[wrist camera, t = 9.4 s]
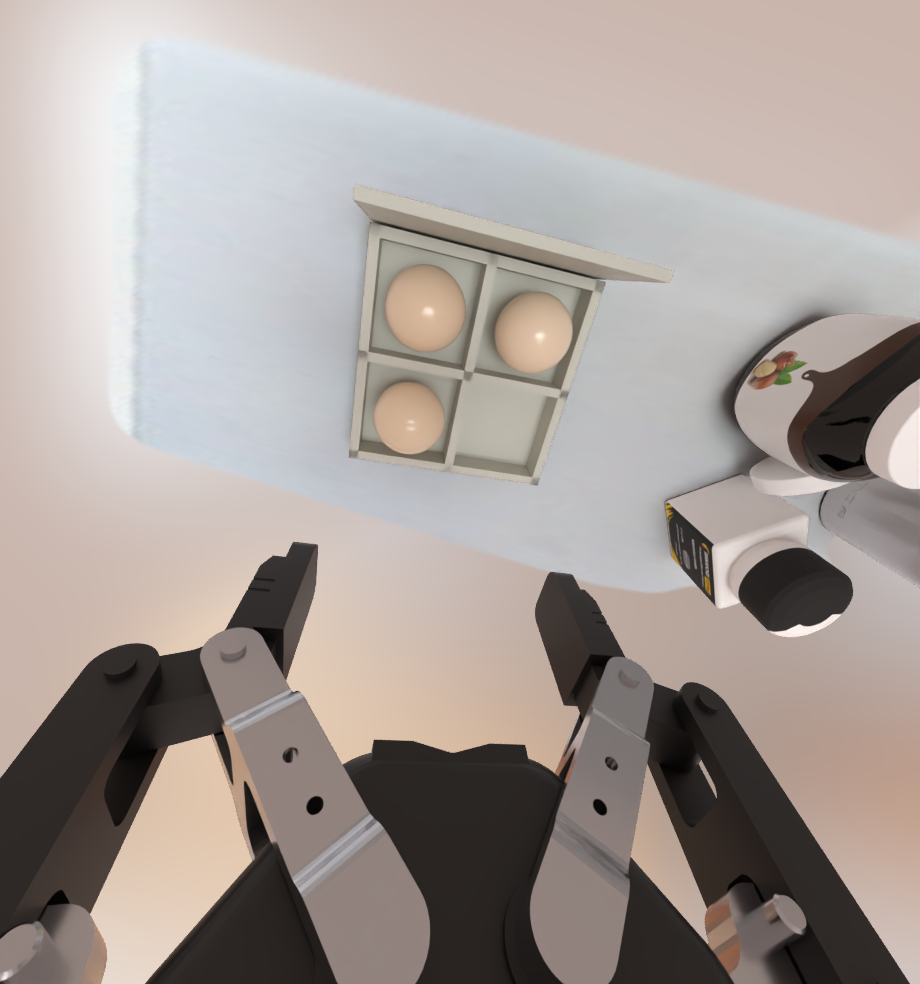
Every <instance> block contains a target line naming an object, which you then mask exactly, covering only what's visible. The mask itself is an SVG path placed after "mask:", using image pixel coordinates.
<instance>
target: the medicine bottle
mask: <svg viewBox="0 0 920 984" xmlns="http://www.w3.org/2000/svg"><path fill="white" fill-rule="evenodd" d="M665 506H666V514H667V522H668V529H669V537H670V545H671V552H672V557H673V559H674V560H675V561H676V562H677V563H678V565H679V566H680V567H681V568H682V569H683V570H684V571H685V572H686V574H687V575H688V576H689V577H690V578H691V579H692V580H693V581H694V583H695V584H696V585H697V586H698V587H699V588H700V589H701V590H702V591H703V593H704V594H705V595H706V596H707V597H708V598H709V599H710V600H711V602H712V603H713V604H714V605H715V606H716V607H718V608H720V609H721V608H725V607H728V606H731V605H734V604H737V603H740V602H741V603H742V604H743V605H744V606H745V607H746V608H747V610H749V611H750V613H751V614H752V615H754V617H755V618H756V619H757V620H758V621H759V622H760V623H761V624H762V625H763V626H764V627H765V628H766V629H767V630H768V631H770V632H771V633H773V634H775V635H780V636H784V637H798V636H803V635H807V634H810V633H813V632H815V631H818V630H820V629H822V628H824V627H826V626H827V625H829V624H830V623H832V622H833V621H835V620H836V619H837V618H838V617H839V616H840V615H841V614H842V613H843V612H844V611H845V609H846V608H847V607H848V605H849V604H850V601H851V599H852V596H853V588H852V582H851V580H850V578H849V577H848V576H847V575H845V574H844V573H843V572H841V571H840V570H838V569H837V568H836V567H834V566H833V565H831V564H830V563H829V562H827V561H826V560H824V559H823V558H822V557H820V556H819V555H817V554H816V553H814V552H813V551H812V550H810V549H809V548H807V547H806V546H807V535H808V524H809V516H808V515H807V514H806V513H804V512H802V511H801V510H799V509H798V508H796V507H794V506H793V505H791V504H790V503H788V502H786V501H785V500H783V499H782V498H780V497H778V496H776V495H767V494H763V493H760V492H758V491H757V490H756V489H755V487H754V486H753V483H752V480H751V479H750V478H748V477H746V476H745V475H742V474H741V475H738V476H735V477H732V478H729V479H726V480H724V481H721V482H718V483H715V484H712V485H709V486H707V487H704V488H701V489H698V490H695V491H693V492H690V493H687V494H684V495H681V496H679V497H676V498H673V499H670V500H668V501H666V503H665Z"/></svg>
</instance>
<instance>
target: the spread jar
mask: <svg viewBox="0 0 920 984" xmlns="http://www.w3.org/2000/svg"><path fill="white" fill-rule="evenodd" d="M734 411H735V415H736V418H737V420H738V423H739V425H740V427H741V429H742V430H743V432H744V433H745V435H746V436H747V437H748V438H749V439H750V440H751V441H752V442H753V443H754V444H755V445H756V446H757V447H759V448H760V449H762V450H763V451H764V452H766V453H767V454H769V455H770V456H771V457H768V458H766V459H764V460H762V461H760V462H758V463H757V464H755V465H754V466H753V467H752V468H751V470H750V477H751V480H752V483H753V486H754V487H755V489H756V490H757V491H758V492H760V493H763V494H767V495H776V496H792V495H803V494H810V493H816V492H821V491H825V490H830V489H833V488H836V487H840V486H842V485H845V484H847V483H850V482H859V481H866V480H871V479H876V478H880V477H881V478H884V479H886V480H888V481H890V482H893V483H895V484H897V485H899V486H902V487H905V488H909V489H920V320H917V319H912V318H904V317H895V316H885V315H875V314H842V315H835V316H831V317H827V318H824V319H821V320H818V321H815V322H812V323H809V324H807V325H805V326H803V327H801V328H798V329H796V330H794V331H792V332H790V333H788V334H786V335H785V336H783V337H781V338H780V339H778V340H777V341H775V342H773V343H772V344H771V345H769V346H768V347H767V348H766V349H764V350H763V351H762V352H761V353H760V354H759V355H758V356H757V357H756V358H755V359H754V360H753V362H752V363H751V364H750V365H749V367H748V368H747V370H746V371H745V373H744V375H743V376H742V378H741V380H740V382H739V384H738V387H737V389H736V393H735V398H734Z"/></svg>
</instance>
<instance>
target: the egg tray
mask: <svg viewBox="0 0 920 984" xmlns="http://www.w3.org/2000/svg"><path fill="white" fill-rule="evenodd" d="M353 200H354V201H355V202H356V203H357V204H358V206H359V207H360V208H361V209H362V210H363V211H364V212H365V213H366V215H367V216H368V217H369V218H370V219H371V220H372V221H373V222H374V223H372V222H370V228H369V239H368V250H367V261H366V272H365V284H364V295H363V306H362V317H361V328H360V339H359V351H358V362H357V373H356V384H355V395H354V406H353V417H352V429H351V440H350V451H349V457H350V458H357V459H363V460H370V461H377V462H384V463H390V464H397V465H404V466H411V467H417V468H424V469H431V470H438V471H444V472H451V473H458V474H464V475H471V476H478V477H485V478H491V479H498V480H505V481H512V482H518V483H525V484H532V485H538V482H539V479H540V476H541V473H542V470H543V467H544V464H545V461H546V458H547V455H548V452H549V449H550V446H551V443H552V440H553V437H554V434H555V432H556V429H557V426H558V423H559V420H560V417H561V414H562V411H563V408H564V405H565V402H566V399H567V396H568V393H569V390H570V387H571V384H572V381H573V378H574V375H575V372H576V369H577V366H578V363H579V360H580V357H581V354H582V351H583V349H584V346H585V343H586V340H587V337H588V334H589V331H590V328H591V325H592V322H593V319H594V316H595V313H596V310H597V307H598V304H599V301H600V298H601V295H602V292H603V289H604V286H605V283H606V282H603V281H599V280H595V279H604V280H623V281H642V282H661V283H670V282H671V280H672V277H673V275H674V272H675V271H674V270H670V269H666V268H663V267H659V266H655V265H652V264H648V263H644V262H641V261H637V260H633V259H630V258H626V257H622V256H618V255H615V254H611V253H607V252H604V251H600V250H596V249H593V248H589V247H585V246H582V245H578V244H574V243H570V242H567V241H563V240H559V239H556V238H552V237H548V236H545V235H541V234H537V233H533V232H530V231H526V230H522V229H519V228H515V227H511V226H508V225H504V224H500V223H497V222H493V221H489V220H485V219H482V218H478V217H474V216H471V215H467V214H463V213H460V212H456V211H452V210H449V209H445V208H441V207H437V206H434V205H430V204H426V203H423V202H419V201H415V200H412V199H408V198H404V197H401V196H397V195H393V194H389V193H386V192H382V191H378V190H375V189H371V188H367V187H364V186H360V185H356V184H354V192H353ZM418 264H430V265H434V266H438V267H440V268H442V269H444V270H445V271H447V272H448V273H449V274H450V275H452V276H453V278H454V279H455V280H456V281H457V283H458V284H459V286H460V288H461V290H462V292H463V295H464V298H465V303H466V317H465V322H464V325H463V328H462V330H461V332H460V334H459V335H458V337H457V338H456V339H455V340H454V341H453V342H452V343H451V344H450V345H449V346H447V347H446V348H444V349H442V350H439V351H436V352H430V353H423V352H418V351H414V350H412V349H409V348H408V347H406V346H404V345H403V344H402V343H401V342H400V341H399V340H398V339H397V338H396V337H395V336H394V334H393V333H392V331H391V330H390V327H389V325H388V322H387V319H386V314H385V300H386V295H387V291H388V289H389V287H390V284H391V283H392V281H393V280H394V279H395V277H396V276H397V275H398V274H399V273H400V272H402V271H403V270H405V269H406V268H408V267H411V266H414V265H418ZM532 291H541V292H546V293H549V294H551V295H553V296H555V297H556V298H558V299H559V300H560V301H561V302H562V303H563V304H564V305H565V307H566V308H567V310H568V312H569V314H570V316H571V320H572V327H573V334H572V340H571V344H570V346H569V349H568V351H567V352H566V354H565V356H564V357H563V358H562V359H561V361H560V362H558V363H557V364H556V365H555V366H554V367H552V368H550V369H548V370H546V371H544V372H541V373H535V374H528V373H522V372H519V371H516V370H514V369H513V368H511V367H510V366H508V365H507V364H506V363H505V362H504V361H503V359H502V358H501V356H500V355H499V353H498V350H497V347H496V343H495V327H496V323H497V320H498V317H499V315H500V313H501V312H502V310H503V309H504V307H505V306H506V305H507V304H508V303H509V302H510V301H511V300H512V299H514V298H515V297H517V296H519V295H521V294H523V293H527V292H532ZM401 382H416V383H420V384H422V385H424V386H426V387H428V388H429V389H431V390H432V391H433V392H434V393H435V394H436V395H437V396H438V398H439V399H440V401H441V403H442V405H443V408H444V412H445V426H444V430H443V432H442V434H441V436H440V438H439V440H438V441H437V442H436V443H435V444H434V445H433V446H432V447H431V448H429V449H428V450H426V451H424V452H421V453H418V454H403V453H399V452H396V451H394V450H392V449H390V448H389V447H388V446H386V445H385V444H384V443H383V442H382V441H381V439H380V438H379V436H378V435H377V433H376V430H375V427H374V422H373V412H374V407H375V404H376V402H377V400H378V398H379V397H380V395H381V394H382V393H383V392H384V391H385V390H386V389H387V388H389V387H391V386H392V385H395V384H397V383H401Z"/></svg>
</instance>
